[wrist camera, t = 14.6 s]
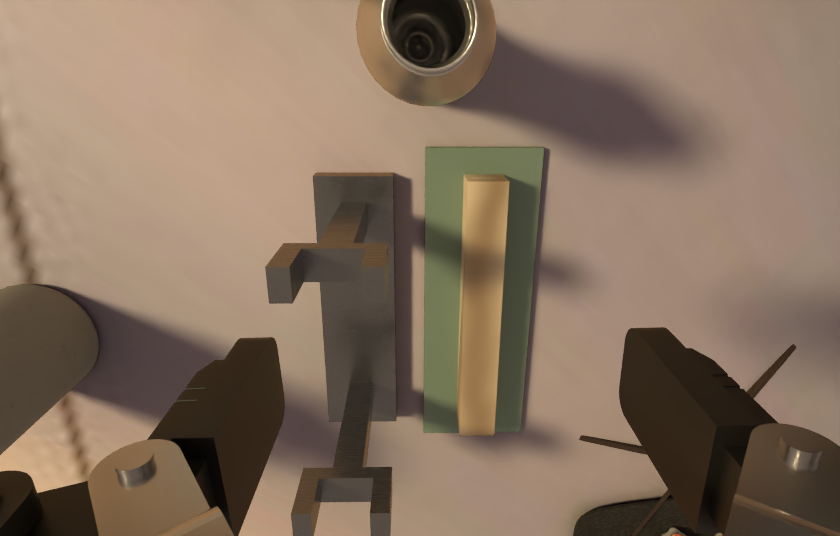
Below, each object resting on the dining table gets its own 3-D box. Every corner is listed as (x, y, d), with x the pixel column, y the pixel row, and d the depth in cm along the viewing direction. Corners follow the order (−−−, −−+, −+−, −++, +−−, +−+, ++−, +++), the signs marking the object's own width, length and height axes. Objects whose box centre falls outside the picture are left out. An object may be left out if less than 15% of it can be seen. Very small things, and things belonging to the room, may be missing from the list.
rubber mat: (542, 146, 40) (544, 147, 40) (518, 428, 49) (520, 432, 49) (425, 146, 40) (425, 147, 40) (423, 428, 49) (423, 432, 48)
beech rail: (502, 174, 40) (509, 181, 38) (489, 414, 48) (494, 435, 45) (463, 174, 40) (467, 181, 37) (456, 414, 48) (459, 435, 45)
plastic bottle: (423, -26, 36) (438, -137, 17) (483, 55, 38) (555, 33, 19) (354, 40, 37) (299, 3, 19) (415, 115, 39) (421, 149, 20)
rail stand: (393, 172, 41) (383, 228, 26) (396, 411, 48) (390, 561, 33) (316, 172, 41) (261, 228, 26) (331, 411, 48) (296, 563, 33)
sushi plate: (571, 600, 58) (582, 635, 54) (558, 367, 48) (571, 391, 44) (836, 568, 57) (865, 601, 54) (881, 324, 47) (920, 345, 43)
